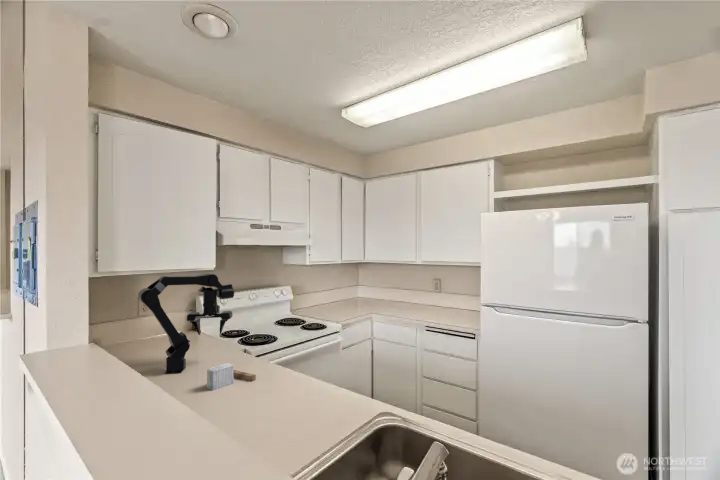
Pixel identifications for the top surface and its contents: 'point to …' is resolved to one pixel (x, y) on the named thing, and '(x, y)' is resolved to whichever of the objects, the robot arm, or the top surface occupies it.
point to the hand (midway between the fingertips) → (210, 334)
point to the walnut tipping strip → (244, 375)
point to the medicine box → (220, 376)
